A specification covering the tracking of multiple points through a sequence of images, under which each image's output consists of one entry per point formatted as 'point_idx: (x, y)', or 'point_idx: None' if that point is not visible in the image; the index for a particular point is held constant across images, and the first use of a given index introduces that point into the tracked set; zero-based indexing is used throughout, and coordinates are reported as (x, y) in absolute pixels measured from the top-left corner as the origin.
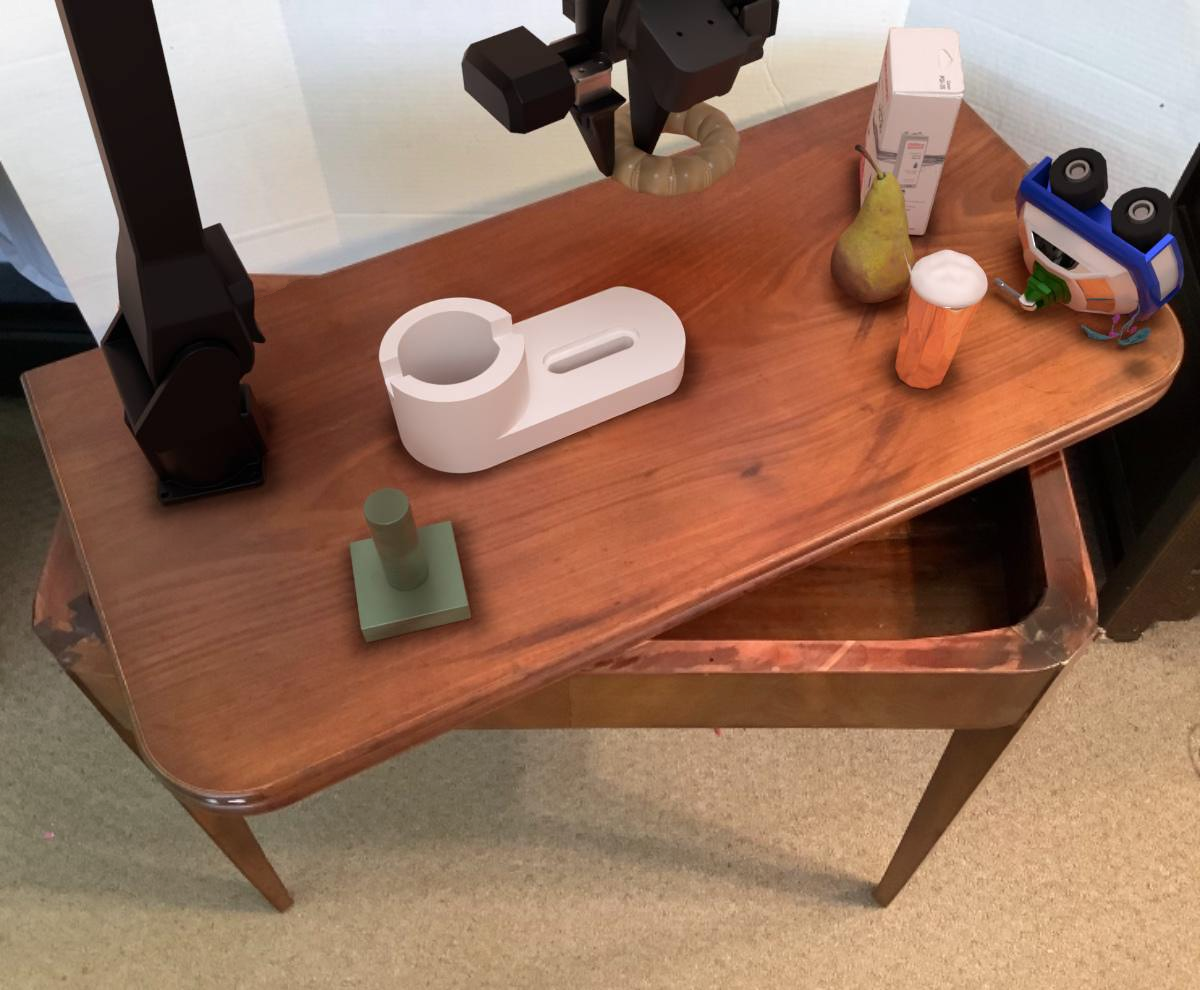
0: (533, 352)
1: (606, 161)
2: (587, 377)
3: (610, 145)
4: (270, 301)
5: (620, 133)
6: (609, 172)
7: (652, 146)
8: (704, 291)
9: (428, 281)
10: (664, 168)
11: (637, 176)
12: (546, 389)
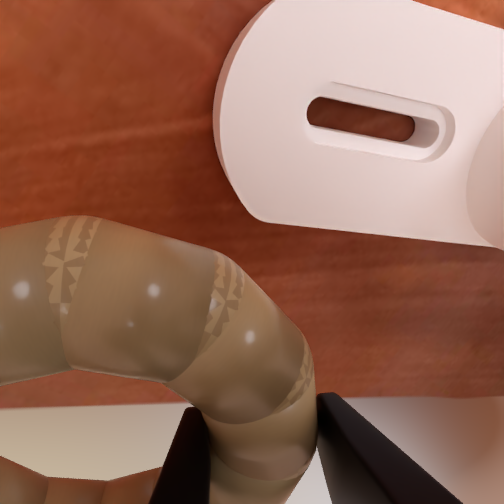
0: (440, 175)
1: (383, 438)
2: (431, 74)
3: (415, 498)
4: (485, 395)
5: None
6: (339, 402)
7: (189, 447)
8: (101, 158)
9: (378, 359)
10: (236, 341)
11: (305, 355)
12: (486, 95)
